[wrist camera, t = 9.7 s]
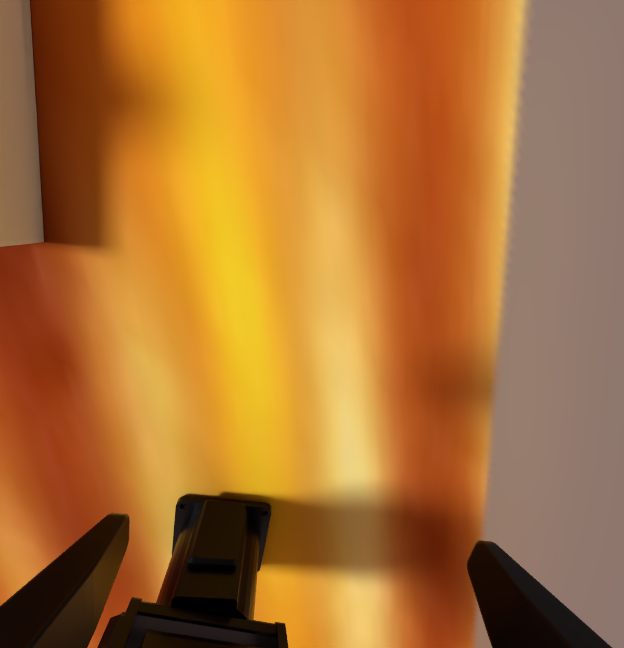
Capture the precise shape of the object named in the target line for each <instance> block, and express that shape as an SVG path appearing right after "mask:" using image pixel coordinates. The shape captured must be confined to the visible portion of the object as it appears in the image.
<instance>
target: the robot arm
mask: <svg viewBox="0 0 624 648" xmlns="http://www.w3.org/2000/svg"><path fill="white" fill-rule="evenodd" d="M185 504H186V505H185ZM263 510H265V511H263ZM270 516H271V506H270V505H269V504H268V503H261V502H249V501H237V500H225V499H214V498H202V497H190V496H182V497H180V498H179V499H178V502H177V505H176V512H175V524H174V536H173V548H172V558H171V561H170V563H169V566H168V569H167V572H166V575H165V578H164V581H163V584H162V587H161V590H160V593H159V596H158V599H157V602H156V603H150V602H144V601H142V599H140V598H134V597H132V599H131V601H130V603H129V606H128V608H127V610H126V612H123V613H122V614H120V615H117V616H114V617H112V618H110V620H109V623H108V625H107V627H106V629H105V632H104V634H103V636H102V638H101V641H100V643H99V645H98V648H288V642H287V634H286V627H285V623H279V622H275V624H273V623H267V622H261V621H255V620H253V619H254V607H255V595H256V583H257V572H258V571H259V570H260V566H261V561H262V556H263V551H264V546H265V541H266V536H267V531H268V526H269V521H270ZM128 542H129V515H128V514H122V513H111V514H109V515H107V516H106V517H105V518H103V519H102V520H101V521H100V522H99V523H98V524H96V525H95V526H94V527H93V528H92V529H90V530H89V531H88V532H87V533H86V534H85V535H83V536H82V537H81V538H80V539H79V540H78V541H76V542H75V543H74V544H73V545H72V546H70V547H69V548H68V549H67V550H66V551H65V552H63V553H62V554H61V555H60V556H59V557H58V558H56V559H55V560H54V561H53V562H52V563H50V564H49V565H48V566H47V567H46V568H45V569H43V570H42V571H41V572H40V573H39V574H38V575H36V576H35V577H34V578H33V579H32V580H30V581H29V582H28V583H27V584H26V585H25V586H23V587H22V588H21V589H20V590H19V591H17V592H16V593H15V594H14V595H13V596H12V597H10V598H9V599H8V600H7V601H6V602H5V603H3V604H2V605H1V606H0V648H87V647H88V645H89V643H90V640H91V638H92V636H93V634H94V632H95V629H96V627H97V624H98V622H99V619H100V617H101V614H102V612H103V609H104V606H105V604H106V601H107V599H108V596H109V594H110V591H111V588H112V586H113V583H114V581H115V578H116V575H117V573H118V570H119V568H120V565H121V562H122V560H123V557H124V555H125V552H126V549H127V546H128ZM467 569H468V574H469V577H470V580H471V583H472V586H473V589H474V593H475V596H476V599H477V602H478V605H479V608H480V612H481V615H482V618H483V621H484V624H485V627H486V630H487V633H488V636H489V639H490V642H491V645H492V647H493V648H612V647H611V646H610V645H608V644H607V643H606V642H605V641H604V640H603V639H602V638H601V637H599V636H598V635H597V634H596V633H595V632H594V631H593V630H592V629H591V628H589V627H588V626H587V625H586V624H585V623H584V622H583V621H582V620H580V619H579V618H578V617H577V616H576V615H575V614H574V613H573V612H572V611H570V610H569V609H568V608H567V607H566V606H565V605H564V604H563V603H561V602H560V601H559V600H558V599H557V598H555V596H554V595H552V594H551V593H550V592H549V591H548V590H547V589H546V588H545V587H543V586H542V585H541V584H540V583H539V582H538V581H537V580H536V579H534V578H533V577H532V576H531V575H530V574H529V573H528V572H527V571H526V570H524V569H523V568H522V567H521V566H520V565H519V564H518V563H516V561H514V560H513V559H512V558H511V557H510V556H509V555H508V554H507V553H505V552H504V551H503V550H502V549H501V548H500V547H499V546H498V545H496V544H495V543H493V542H490V541H478V542H476V544H475V546H474V548H473V550H472V552H471V554H470V557H469V559H468V561H467Z"/></svg>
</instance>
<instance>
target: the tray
mask: <svg viewBox="0 0 624 648" xmlns="http://www.w3.org/2000/svg"><path fill="white" fill-rule="evenodd" d="M41 242H44V231H43V215H42V198H41V181H40V164H39V147H38V130H37V113H36V96H35V79H34V63H33V46H32V29H31V12H30V0H0V247H2V246H12V245H21V244H31V243H41Z"/></svg>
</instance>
